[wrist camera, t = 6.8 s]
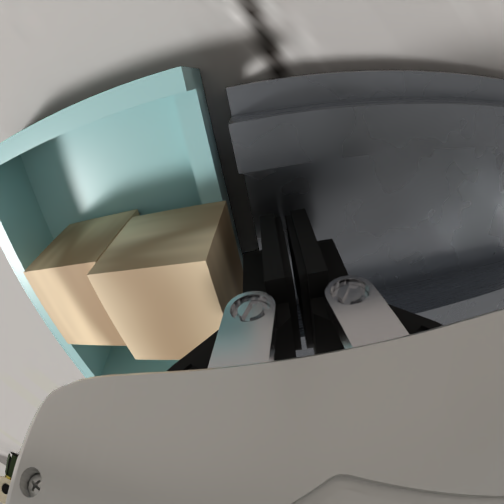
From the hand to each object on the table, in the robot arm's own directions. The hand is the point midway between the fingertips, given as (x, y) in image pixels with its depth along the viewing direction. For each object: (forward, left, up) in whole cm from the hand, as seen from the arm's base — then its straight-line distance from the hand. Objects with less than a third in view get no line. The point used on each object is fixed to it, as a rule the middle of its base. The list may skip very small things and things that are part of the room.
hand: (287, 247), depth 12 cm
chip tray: (+7, 0, -3) cm, 8 cm away
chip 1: (+6, 0, 0) cm, 6 cm away
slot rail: (-6, 0, -3) cm, 6 cm away
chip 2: (+4, 0, -1) cm, 4 cm away
